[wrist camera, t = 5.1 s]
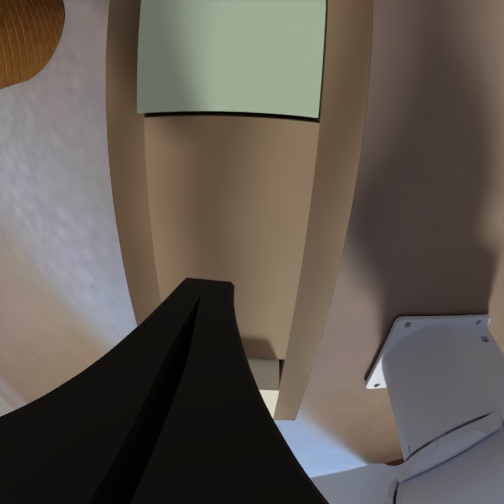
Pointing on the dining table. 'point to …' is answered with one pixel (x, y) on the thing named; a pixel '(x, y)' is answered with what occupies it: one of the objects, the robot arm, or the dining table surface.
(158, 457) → the robot arm
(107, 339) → the dining table surface
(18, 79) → the disposable coffee cup
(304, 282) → the key base
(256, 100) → the sage key
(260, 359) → the cream key
